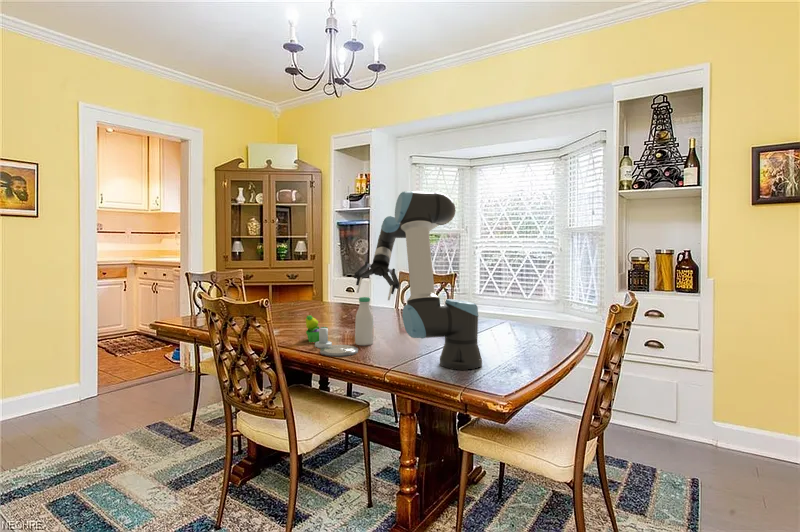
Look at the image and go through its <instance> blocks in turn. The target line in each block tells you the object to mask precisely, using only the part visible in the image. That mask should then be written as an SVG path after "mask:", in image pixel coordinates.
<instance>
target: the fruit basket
mask: <svg viewBox="0 0 800 532" xmlns="http://www.w3.org/2000/svg"><path fill="white" fill-rule="evenodd" d="M318 324H319V320H318V319H317V318H315V317H313V315H307V316H306V318H305V326H306V328H307V330H306V331H305V333H306V336H307V339H308V342H318V341H319V328H328V327H327V326H319V325H318Z"/></svg>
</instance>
